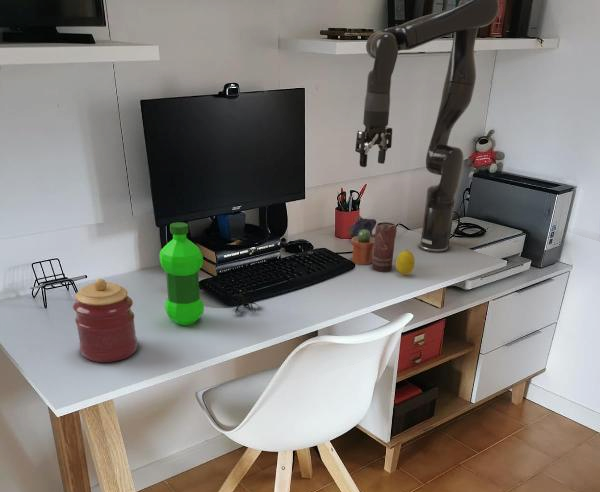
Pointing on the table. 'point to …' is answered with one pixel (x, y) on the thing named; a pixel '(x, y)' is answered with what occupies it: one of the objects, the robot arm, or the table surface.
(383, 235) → the can
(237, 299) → the creature
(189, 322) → the plastic bottle
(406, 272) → the lemon
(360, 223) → the frog
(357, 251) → the plant pot
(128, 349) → the kitchen canister
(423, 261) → the table surface
